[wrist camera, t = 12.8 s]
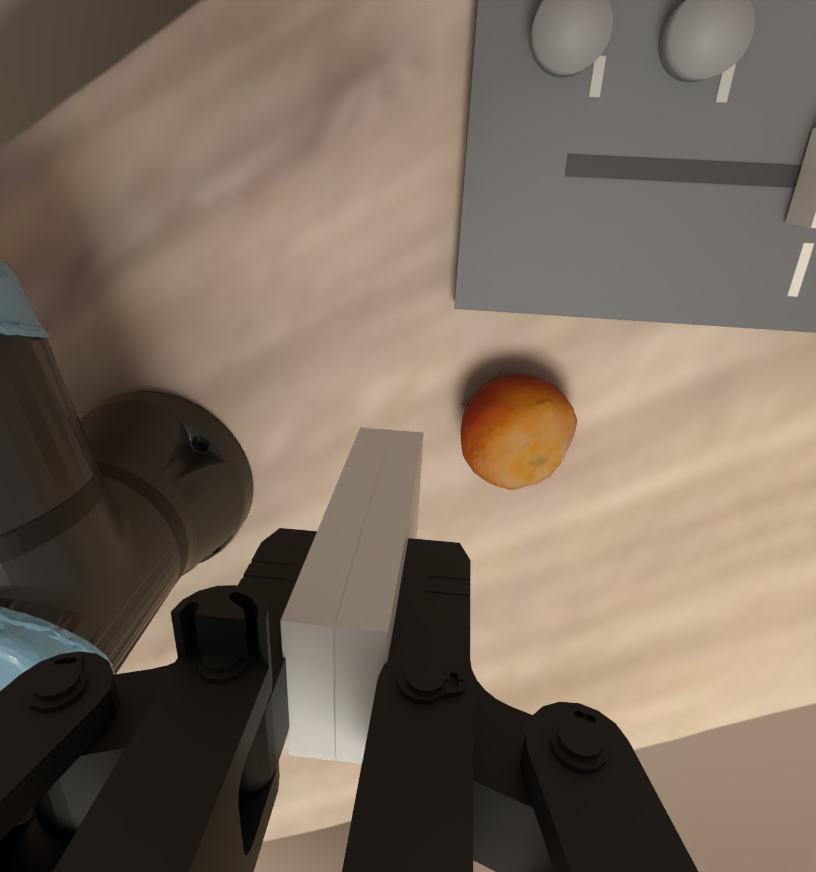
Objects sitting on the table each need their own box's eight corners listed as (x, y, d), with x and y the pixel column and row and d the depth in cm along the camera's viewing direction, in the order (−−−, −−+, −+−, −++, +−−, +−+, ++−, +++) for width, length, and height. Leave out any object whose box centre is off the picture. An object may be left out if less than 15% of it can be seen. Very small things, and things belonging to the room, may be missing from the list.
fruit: (486, 329, 41) (543, 400, 36) (554, 367, 46) (614, 435, 40) (417, 415, 44) (460, 493, 39) (488, 442, 49) (535, 515, 44)
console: (455, 302, 42) (453, 317, 38) (479, -14, 34) (480, -36, 30) (907, 331, 40) (955, 351, 36) (1040, 3, 32) (1120, -19, 28)
